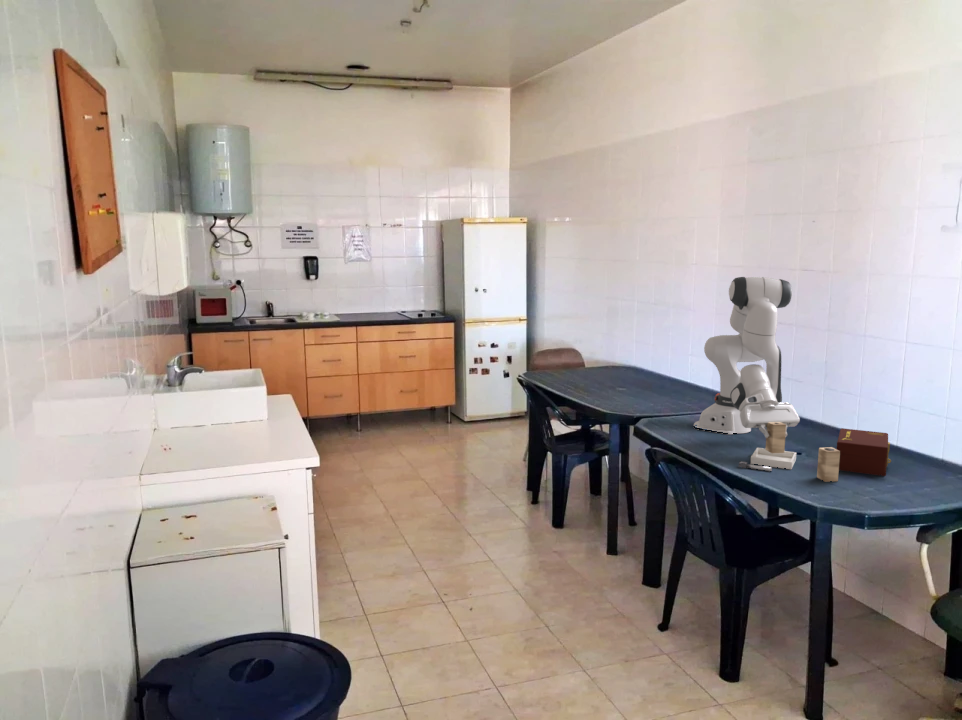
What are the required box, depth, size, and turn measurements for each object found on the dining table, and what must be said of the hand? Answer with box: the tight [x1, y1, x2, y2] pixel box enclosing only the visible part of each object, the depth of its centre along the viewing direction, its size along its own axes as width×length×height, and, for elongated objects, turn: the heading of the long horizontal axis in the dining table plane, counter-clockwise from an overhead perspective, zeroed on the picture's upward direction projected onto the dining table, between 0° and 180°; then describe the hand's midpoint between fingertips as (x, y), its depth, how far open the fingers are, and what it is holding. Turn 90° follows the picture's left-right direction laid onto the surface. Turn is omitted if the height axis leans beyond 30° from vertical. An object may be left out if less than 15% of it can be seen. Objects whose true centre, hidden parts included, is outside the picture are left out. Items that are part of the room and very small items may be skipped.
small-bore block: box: [764, 422, 787, 453], centre depth 254 cm, size 4×4×10 cm
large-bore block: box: [816, 446, 840, 483], centre depth 236 cm, size 4×4×10 cm
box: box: [836, 427, 892, 477], centre depth 251 cm, size 21×16×10 cm
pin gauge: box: [738, 461, 773, 472], centre depth 248 cm, size 10×2×2 cm, turn 61°
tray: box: [750, 447, 797, 470], centre depth 256 cm, size 13×13×2 cm
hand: (776, 436), depth 253 cm, fingers closed on small-bore block, 4 cm apart
